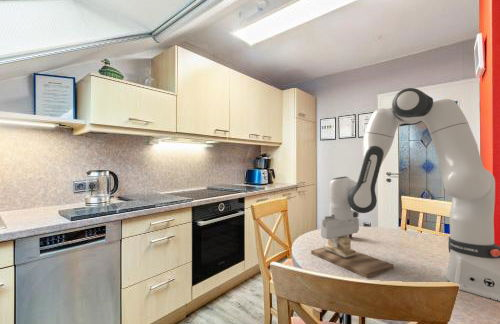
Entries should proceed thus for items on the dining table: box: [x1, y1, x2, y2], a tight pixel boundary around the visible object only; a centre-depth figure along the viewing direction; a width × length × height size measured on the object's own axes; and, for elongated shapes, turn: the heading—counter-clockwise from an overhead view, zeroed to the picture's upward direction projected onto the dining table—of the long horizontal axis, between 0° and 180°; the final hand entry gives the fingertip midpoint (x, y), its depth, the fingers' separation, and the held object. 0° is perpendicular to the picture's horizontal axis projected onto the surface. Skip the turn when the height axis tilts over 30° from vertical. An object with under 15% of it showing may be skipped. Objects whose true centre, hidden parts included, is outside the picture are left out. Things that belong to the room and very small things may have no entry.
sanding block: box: [323, 236, 357, 258], centre depth 107 cm, size 12×6×7 cm, turn 29°
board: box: [310, 247, 395, 279], centre depth 103 cm, size 28×16×2 cm, turn 29°
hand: (340, 245), depth 106 cm, fingers closed on sanding block, 4 cm apart
